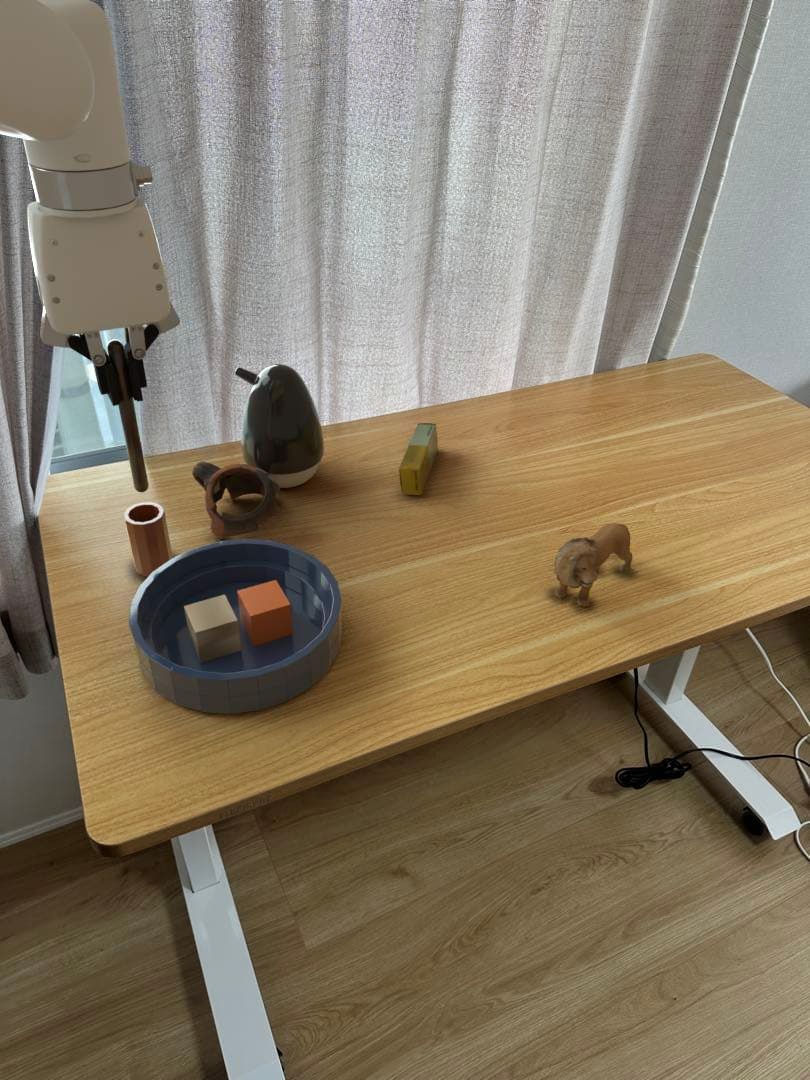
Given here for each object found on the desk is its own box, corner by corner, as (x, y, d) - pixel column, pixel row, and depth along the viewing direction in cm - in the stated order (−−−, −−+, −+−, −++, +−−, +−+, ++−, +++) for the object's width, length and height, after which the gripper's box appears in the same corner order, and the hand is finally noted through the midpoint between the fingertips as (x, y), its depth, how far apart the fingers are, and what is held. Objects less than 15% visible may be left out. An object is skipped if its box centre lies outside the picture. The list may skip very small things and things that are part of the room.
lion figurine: (580, 633, 82) (596, 565, 76) (534, 611, 84) (546, 543, 79) (639, 562, 91) (657, 496, 86) (596, 544, 94) (611, 479, 88)
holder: (139, 581, 86) (128, 528, 81) (131, 559, 88) (120, 507, 84) (177, 571, 87) (168, 518, 83) (168, 550, 90) (158, 498, 86)
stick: (136, 496, 80) (107, 344, 70) (133, 489, 81) (104, 338, 71) (151, 493, 81) (123, 342, 71) (147, 486, 81) (120, 336, 72)
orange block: (253, 646, 78) (250, 616, 75) (240, 620, 80) (237, 590, 78) (292, 634, 79) (290, 604, 77) (278, 609, 82) (276, 579, 80)
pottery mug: (300, 506, 98) (294, 477, 91) (257, 569, 95) (247, 544, 87) (218, 461, 100) (206, 428, 92) (173, 521, 97) (156, 492, 89)
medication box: (418, 448, 109) (417, 421, 107) (438, 449, 109) (437, 422, 107) (400, 495, 100) (398, 466, 98) (421, 496, 99) (420, 468, 97)
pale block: (200, 663, 76) (195, 632, 73) (189, 636, 79) (183, 605, 76) (241, 650, 77) (237, 620, 75) (229, 624, 80) (224, 594, 78)
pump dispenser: (258, 450, 107) (249, 343, 98) (334, 461, 106) (332, 353, 97) (230, 492, 99) (217, 379, 90) (311, 504, 98) (306, 391, 89)
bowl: (166, 747, 69) (157, 708, 66) (119, 607, 82) (109, 569, 79) (374, 675, 76) (374, 637, 73) (299, 557, 90) (297, 521, 87)
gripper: (171, 168, 69) (196, 367, 80) (-28, 182, 63) (29, 395, 74) (196, 189, 64) (219, 399, 75) (-19, 207, 58) (41, 432, 69)
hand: (124, 396), depth 74 cm, fingers closed on stick, 1 cm apart
